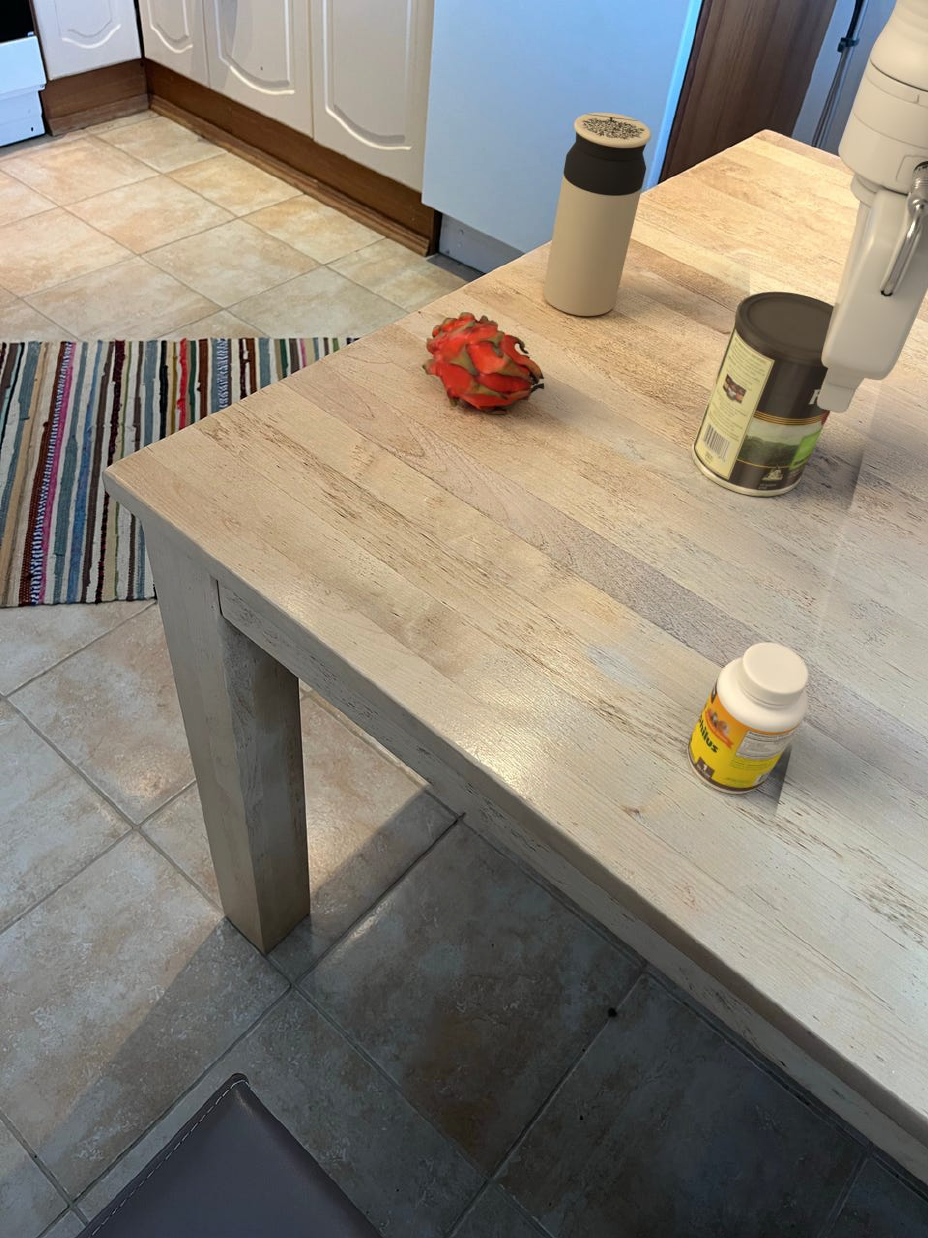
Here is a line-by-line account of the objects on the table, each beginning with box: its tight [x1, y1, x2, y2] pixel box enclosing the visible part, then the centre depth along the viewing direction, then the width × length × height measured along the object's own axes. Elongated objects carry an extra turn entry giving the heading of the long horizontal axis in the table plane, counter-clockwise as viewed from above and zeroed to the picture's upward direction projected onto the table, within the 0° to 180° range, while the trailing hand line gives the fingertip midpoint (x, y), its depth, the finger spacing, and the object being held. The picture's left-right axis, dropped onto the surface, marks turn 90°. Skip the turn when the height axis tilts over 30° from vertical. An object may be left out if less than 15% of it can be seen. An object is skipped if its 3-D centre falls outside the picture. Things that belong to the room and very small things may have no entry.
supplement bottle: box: [686, 641, 810, 795], centre depth 60 cm, size 6×6×10 cm
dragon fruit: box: [421, 311, 545, 415], centre depth 87 cm, size 8×8×12 cm
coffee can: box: [690, 291, 834, 498], centre depth 82 cm, size 10×10×14 cm
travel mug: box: [542, 112, 652, 317], centre depth 97 cm, size 8×8×18 cm
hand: (840, 366), depth 60 cm, fingers open, 8 cm apart
